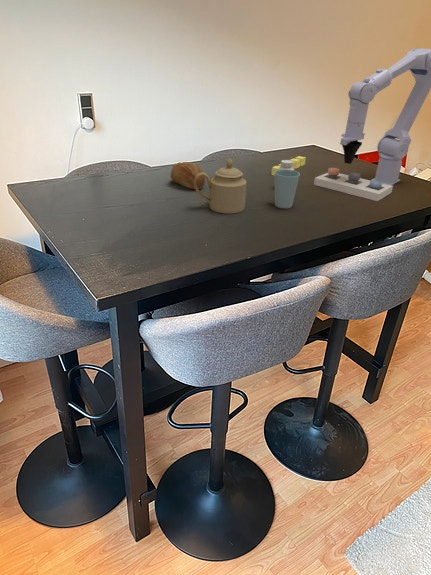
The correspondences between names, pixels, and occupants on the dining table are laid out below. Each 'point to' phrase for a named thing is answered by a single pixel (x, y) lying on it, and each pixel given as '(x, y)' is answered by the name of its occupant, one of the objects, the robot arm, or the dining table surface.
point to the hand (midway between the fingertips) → (348, 163)
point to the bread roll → (187, 175)
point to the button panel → (353, 186)
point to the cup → (285, 187)
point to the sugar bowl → (225, 190)
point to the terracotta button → (333, 173)
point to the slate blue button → (375, 184)
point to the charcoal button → (354, 177)
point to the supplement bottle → (286, 165)
